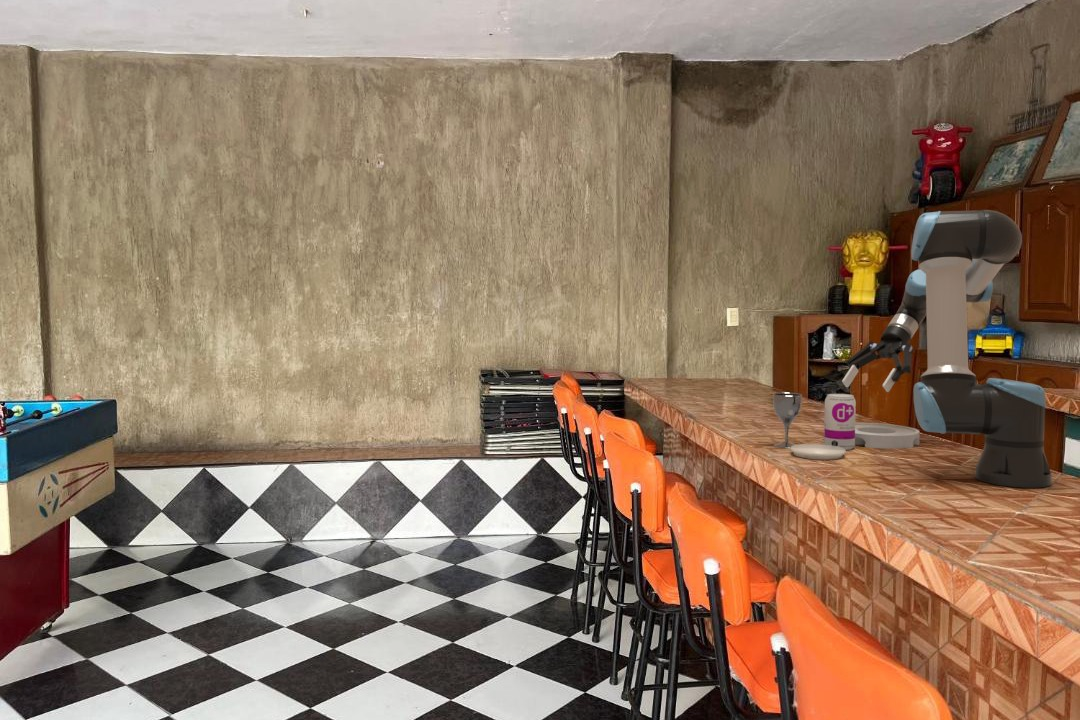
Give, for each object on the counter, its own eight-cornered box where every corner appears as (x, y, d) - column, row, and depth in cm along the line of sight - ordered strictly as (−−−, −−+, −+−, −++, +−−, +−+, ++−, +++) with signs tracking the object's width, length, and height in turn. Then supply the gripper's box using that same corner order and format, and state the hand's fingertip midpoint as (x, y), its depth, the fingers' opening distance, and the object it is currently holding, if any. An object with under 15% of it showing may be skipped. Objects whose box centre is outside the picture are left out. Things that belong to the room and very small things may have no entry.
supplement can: (857, 451, 220) (858, 397, 219) (826, 450, 221) (827, 396, 220) (851, 445, 228) (853, 393, 227) (821, 444, 229) (822, 393, 228)
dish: (852, 460, 207) (852, 453, 207) (797, 460, 208) (798, 453, 208) (836, 450, 221) (836, 444, 221) (785, 450, 222) (785, 443, 222)
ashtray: (934, 449, 223) (934, 435, 222) (851, 449, 223) (851, 435, 223) (898, 435, 246) (899, 422, 246) (823, 435, 246) (823, 423, 246)
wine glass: (797, 443, 232) (798, 392, 230) (803, 448, 224) (804, 395, 223) (769, 443, 232) (770, 392, 231) (775, 448, 224) (775, 395, 223)
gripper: (944, 343, 226) (909, 399, 219) (868, 339, 247) (834, 390, 241) (933, 325, 223) (897, 381, 216) (857, 323, 244) (823, 374, 238)
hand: (864, 386), depth 229 cm, fingers open, 13 cm apart
